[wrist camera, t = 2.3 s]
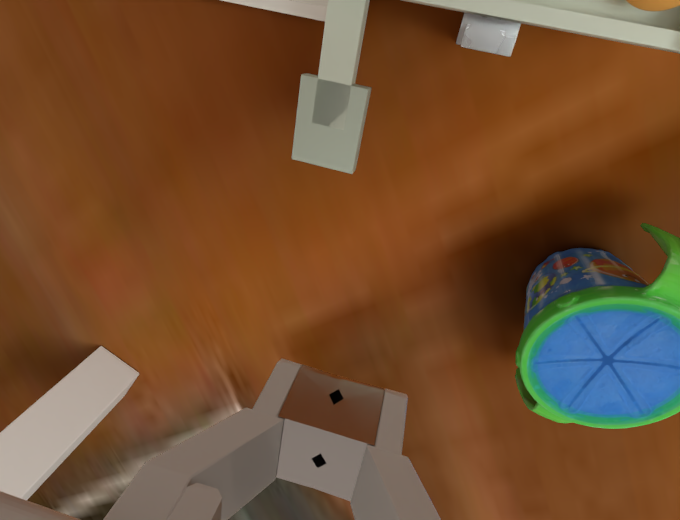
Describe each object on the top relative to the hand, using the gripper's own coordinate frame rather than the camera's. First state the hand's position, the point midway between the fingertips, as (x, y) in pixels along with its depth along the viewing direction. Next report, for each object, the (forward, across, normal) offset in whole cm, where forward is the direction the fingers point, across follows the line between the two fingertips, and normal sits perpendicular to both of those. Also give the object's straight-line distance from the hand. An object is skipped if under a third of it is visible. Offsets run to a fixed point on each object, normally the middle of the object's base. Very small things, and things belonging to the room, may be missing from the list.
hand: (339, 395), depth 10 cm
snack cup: (+27, -15, +8) cm, 32 cm away
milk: (+29, +31, +36) cm, 56 cm away
